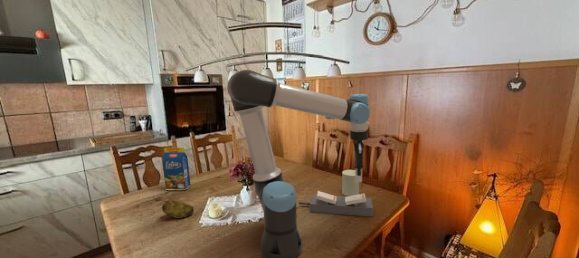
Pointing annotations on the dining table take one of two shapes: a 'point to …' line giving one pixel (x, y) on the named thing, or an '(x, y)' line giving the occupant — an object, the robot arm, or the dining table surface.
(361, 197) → the small box
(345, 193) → the can
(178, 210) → the olive green oval lump
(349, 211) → the rocker switch panel
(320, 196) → the block
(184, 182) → the blue food package
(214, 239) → the dining table surface
